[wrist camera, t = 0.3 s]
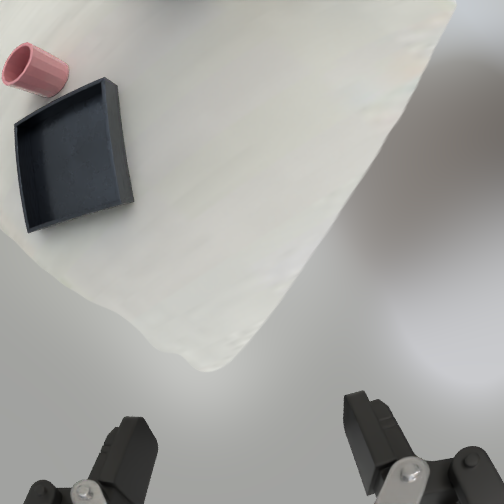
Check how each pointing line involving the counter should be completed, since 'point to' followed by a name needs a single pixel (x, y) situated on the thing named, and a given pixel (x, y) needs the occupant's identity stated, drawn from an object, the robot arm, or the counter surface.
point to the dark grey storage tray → (72, 157)
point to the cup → (35, 71)
